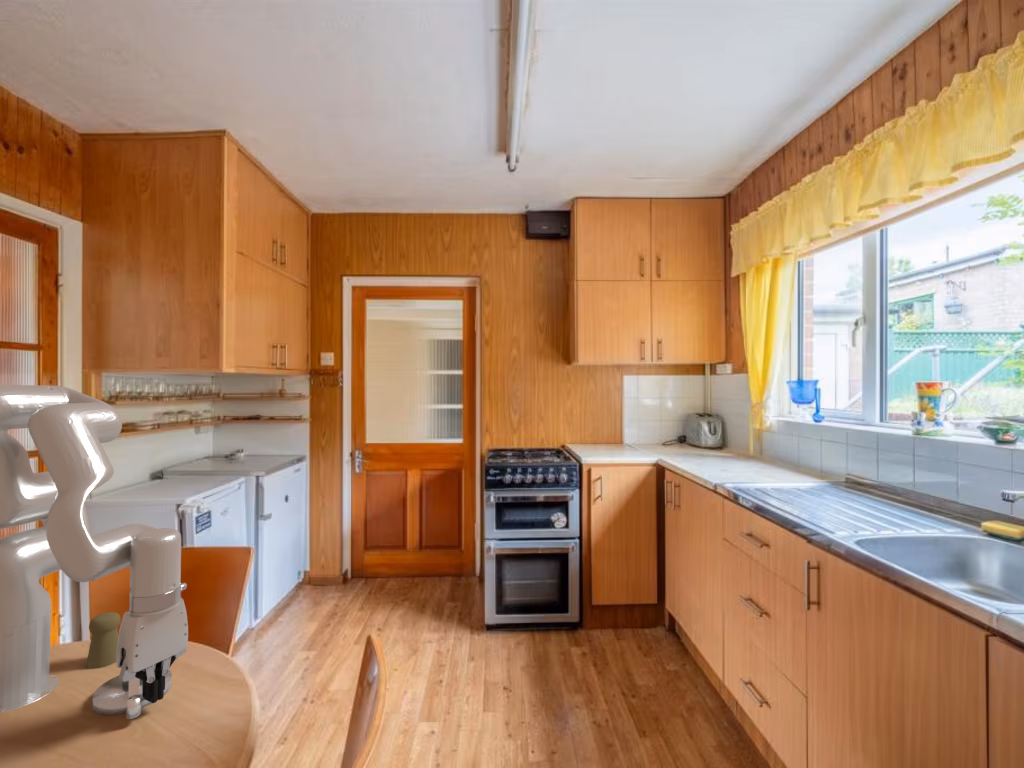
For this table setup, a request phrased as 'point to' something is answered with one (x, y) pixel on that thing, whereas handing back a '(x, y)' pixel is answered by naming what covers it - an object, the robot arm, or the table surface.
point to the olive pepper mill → (103, 640)
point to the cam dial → (123, 697)
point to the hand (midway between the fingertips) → (153, 698)
